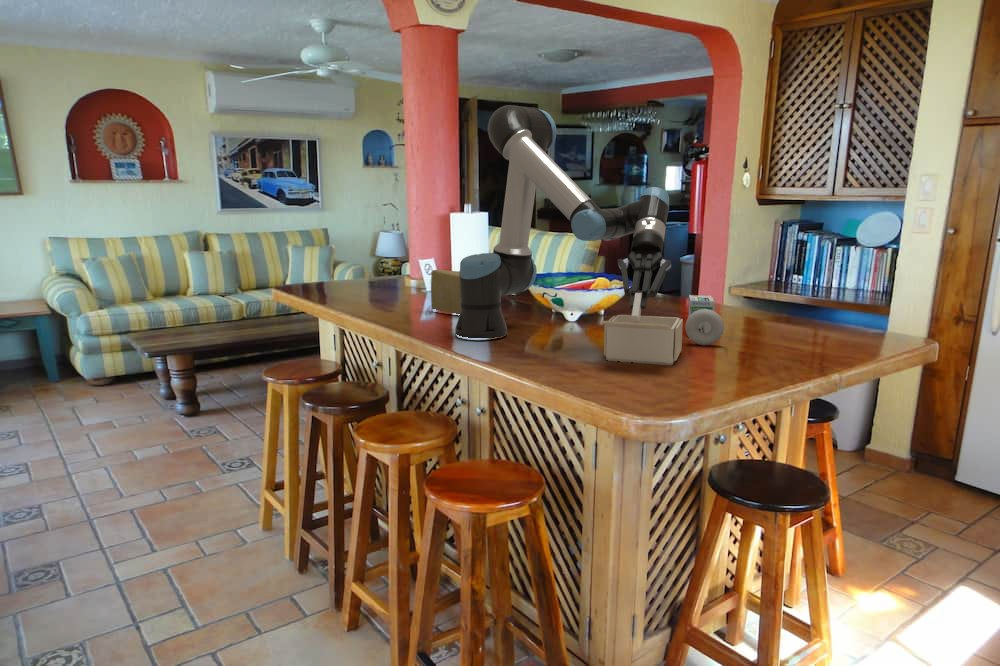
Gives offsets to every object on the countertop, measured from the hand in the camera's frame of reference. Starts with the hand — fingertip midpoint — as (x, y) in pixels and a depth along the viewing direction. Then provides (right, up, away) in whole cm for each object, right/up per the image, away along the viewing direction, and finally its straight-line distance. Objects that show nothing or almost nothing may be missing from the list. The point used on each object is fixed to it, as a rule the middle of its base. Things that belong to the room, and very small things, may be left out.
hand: (635, 319), depth 158 cm
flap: (+2, -2, +7) cm, 7 cm away
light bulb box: (+27, -4, +40) cm, 48 cm away
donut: (+24, -7, +27) cm, 36 cm away
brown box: (-46, +3, +76) cm, 89 cm away
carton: (+5, -9, +16) cm, 19 cm away
